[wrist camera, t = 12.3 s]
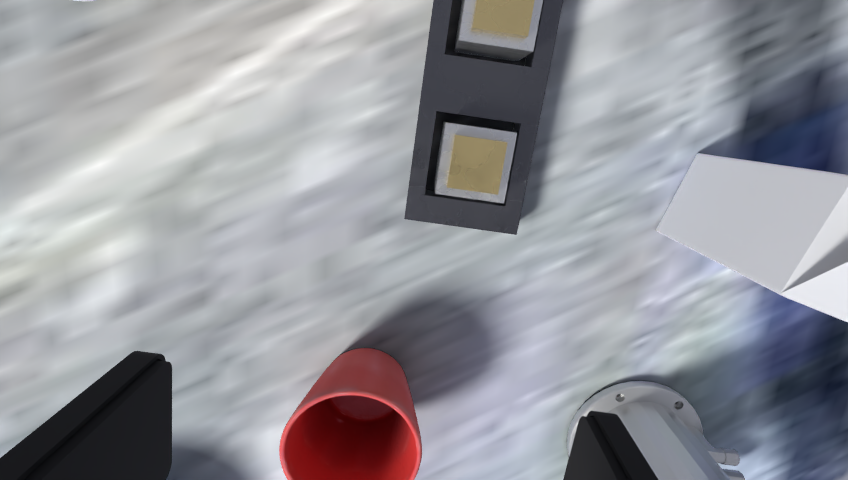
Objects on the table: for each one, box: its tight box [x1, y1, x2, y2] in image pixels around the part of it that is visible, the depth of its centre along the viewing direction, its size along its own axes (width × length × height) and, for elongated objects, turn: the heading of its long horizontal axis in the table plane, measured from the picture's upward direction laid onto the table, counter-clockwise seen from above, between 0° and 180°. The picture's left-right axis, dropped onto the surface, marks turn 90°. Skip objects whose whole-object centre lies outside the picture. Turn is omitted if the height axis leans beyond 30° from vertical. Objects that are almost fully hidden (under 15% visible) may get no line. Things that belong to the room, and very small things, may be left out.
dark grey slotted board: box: [405, 0, 563, 235], centre depth 36 cm, size 9×21×3 cm, turn 172°
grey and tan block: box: [454, 0, 543, 61], centre depth 33 cm, size 5×5×7 cm
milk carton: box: [656, 153, 848, 322], centre depth 31 cm, size 7×7×19 cm
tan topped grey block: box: [434, 121, 517, 203], centre depth 36 cm, size 5×5×7 cm
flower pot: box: [279, 348, 422, 480], centre depth 40 cm, size 11×11×10 cm
